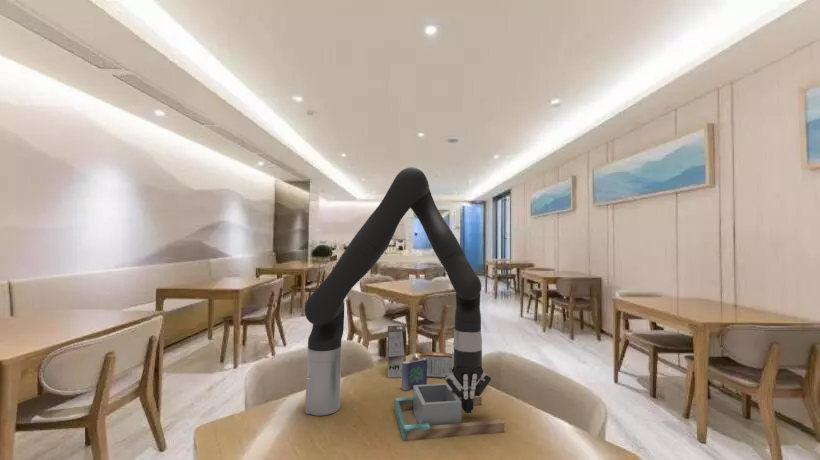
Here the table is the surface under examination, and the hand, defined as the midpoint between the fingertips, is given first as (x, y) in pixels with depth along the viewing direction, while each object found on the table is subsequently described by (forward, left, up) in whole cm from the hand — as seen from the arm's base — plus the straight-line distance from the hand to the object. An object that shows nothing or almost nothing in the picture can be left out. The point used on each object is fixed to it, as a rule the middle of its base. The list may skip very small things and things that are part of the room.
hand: (467, 411), depth 95 cm
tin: (0, +30, -2) cm, 30 cm away
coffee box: (-14, +36, -2) cm, 39 cm away
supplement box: (+6, +18, -2) cm, 19 cm away
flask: (-10, +22, -2) cm, 24 cm away
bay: (-6, 0, -2) cm, 6 cm away
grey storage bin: (-9, 0, -2) cm, 9 cm away
